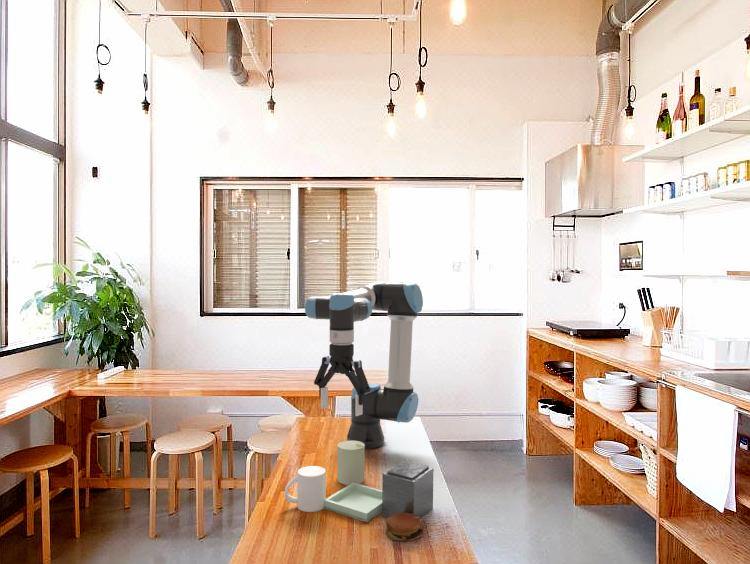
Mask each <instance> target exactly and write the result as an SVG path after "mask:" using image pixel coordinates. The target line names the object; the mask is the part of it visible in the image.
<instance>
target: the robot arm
mask: <svg viewBox="0 0 750 564" xmlns="http://www.w3.org/2000/svg"><path fill="white" fill-rule="evenodd" d="M423 305H424V299H423V294H422V290H421V288H420V286H419V284H417V283H415V282H408V281H378V282H373V283H369V284H364V285H360V286H359V287H357V288H356V289H354V290H348V291H345V292H338V293H337V292H336V293H334V292H333V293H331V294H330V295H325V296H317V295H316V296H310V297H308V298H307V299H306V301H305V303H304V312H305V315H306V316H307V318H309V319H315V320H329V343H330V344H329V353H328V354H329V356H328V355H327V356H324V357H322V358H321V364H320V367H319V369H318V372H317V373H316V376H315V379H314V381H313V384H314V385H316V386H317V387H318V389H319V390H318V391H319V393H318V396H319V398H320V410H323V409H326V408H329V386H327V385H328V383H329V382H330V380H331V379H332V378H333V377H334V375H335V374H341V375H345V376H346V377H347V379H349V381H350V383H351V385H352V386H353V388H352V389H351V397H350V400H351V401H350V403H351V405H350V406H351V407H350V411H351V413H350V415H351V416H350V419H351V421H350V426H349V429H348V431H347V435H346V441H360V442H362V443H364V444H365V450H366V449H367V450H368V449H376V448H381V447H382V446H384V444H385V436H384V432H383V431H384V430H383V429H382V425H381V420H383V421H391V422H397V423H410V422H411V421H412V420H413V419H414V418H415V415H416V413H417V411H418V405H419V395H418V393H417V392H415V391H414V386H413V384H411V367H412V366H411V365H412V345H413V342H412V341H413V324H414V321H415V320H416V319H417V318H418V314H419V313H420V312H422V310H423ZM373 310H374V311H383V312H387V317H388V318H389V319H390V329H389V330H390V334H389V335H390V336H389V352H388V353H389V355H388V372H387V381H386V383H385V384H384V385H383V388H382V387H381V386H382V385H381V383H380V384H379V383H369V382H368V379H367V377H366V374H365V372H364V369H363V362H362V360H354V359H353V357H354V355H355V354H354V350H355V349H354V347H355V346H354V341H355V327H354V326H355V325H354V324H355V322H363V321H365V320H367V319H368V318H370V317H371V315H372V313H373ZM329 366H330V367H329ZM328 368H329V369H328ZM327 370H328V371H327Z"/></svg>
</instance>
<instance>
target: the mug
mask: <svg viewBox="0 0 750 564" xmlns="http://www.w3.org/2000/svg"><path fill="white" fill-rule="evenodd" d="M326 479H327V471H326V469H325V468H324V467H323V466H318V465H308V466H303V467H301V468H299V469H298V470H297V475H296V476H294V477H292V478H291V479H290V480H289V481H288V483H287V484H286V486H285V488H284V492H283V494H284V497H285V499H286V501H288V502H290V503H293V504H296V506H297V508H298V510H299V511H302V512H305V513H315V512H319V511H321V510H324V500H325V499H326V498H327V497H326V495H327V491H326V490H327V485H326V484H327V481H326ZM296 483H297V485H296V486H297V488H296V489H297V494H296V495H297V496H292V495H291V494H290V493H289V489H290V487H292V485H293V484H296Z"/></svg>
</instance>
